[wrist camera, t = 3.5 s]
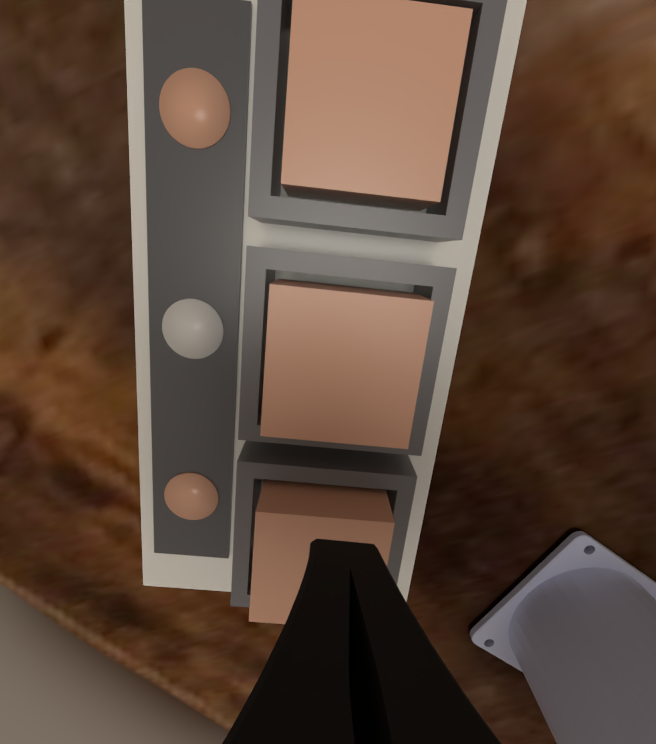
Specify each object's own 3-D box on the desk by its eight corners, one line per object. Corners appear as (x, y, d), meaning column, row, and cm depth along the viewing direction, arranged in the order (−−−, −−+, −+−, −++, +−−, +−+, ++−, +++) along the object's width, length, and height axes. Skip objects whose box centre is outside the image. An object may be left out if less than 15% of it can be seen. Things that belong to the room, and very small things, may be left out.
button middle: (394, 417, 14) (407, 449, 12) (270, 406, 14) (260, 435, 12) (414, 292, 13) (434, 301, 11) (279, 278, 13) (269, 283, 11)
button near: (419, 210, 13) (440, 201, 11) (288, 195, 13) (280, 183, 11) (444, 55, 12) (473, 8, 10) (299, 36, 12) (293, -16, 10)
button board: (399, 579, 20) (418, 656, 16) (156, 560, 19) (115, 636, 16) (511, -9, 13) (589, -116, 9) (143, -59, 13) (66, -195, 9)
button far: (368, 576, 16) (375, 630, 14) (259, 568, 16) (248, 621, 14) (383, 481, 15) (394, 523, 13) (266, 471, 15) (255, 511, 12)
